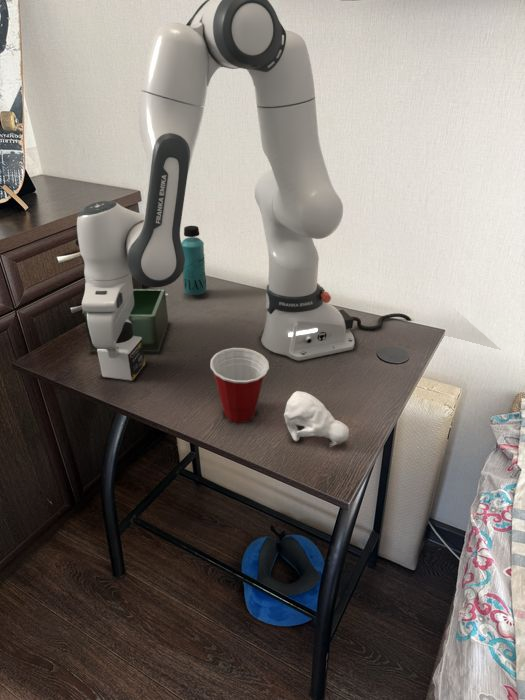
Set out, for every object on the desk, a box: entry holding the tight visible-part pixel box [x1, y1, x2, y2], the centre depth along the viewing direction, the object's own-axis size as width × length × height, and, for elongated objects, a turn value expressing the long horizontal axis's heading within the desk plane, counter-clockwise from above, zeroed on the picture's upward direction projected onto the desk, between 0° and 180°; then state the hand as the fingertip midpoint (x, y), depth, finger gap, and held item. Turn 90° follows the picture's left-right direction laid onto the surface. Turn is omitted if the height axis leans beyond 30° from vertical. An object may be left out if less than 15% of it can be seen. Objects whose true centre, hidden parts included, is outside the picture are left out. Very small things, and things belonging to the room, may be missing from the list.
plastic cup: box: [210, 347, 270, 423], centre depth 94 cm, size 11×11×12 cm
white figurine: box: [283, 390, 350, 448], centre depth 90 cm, size 6×8×12 cm
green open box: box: [84, 288, 169, 354], centre depth 120 cm, size 16×15×10 cm
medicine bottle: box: [97, 320, 146, 382], centre depth 107 cm, size 7×7×12 cm
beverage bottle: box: [181, 225, 207, 296], centre depth 138 cm, size 6×7×20 cm
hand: (119, 345), depth 107 cm, fingers closed on medicine bottle, 7 cm apart
